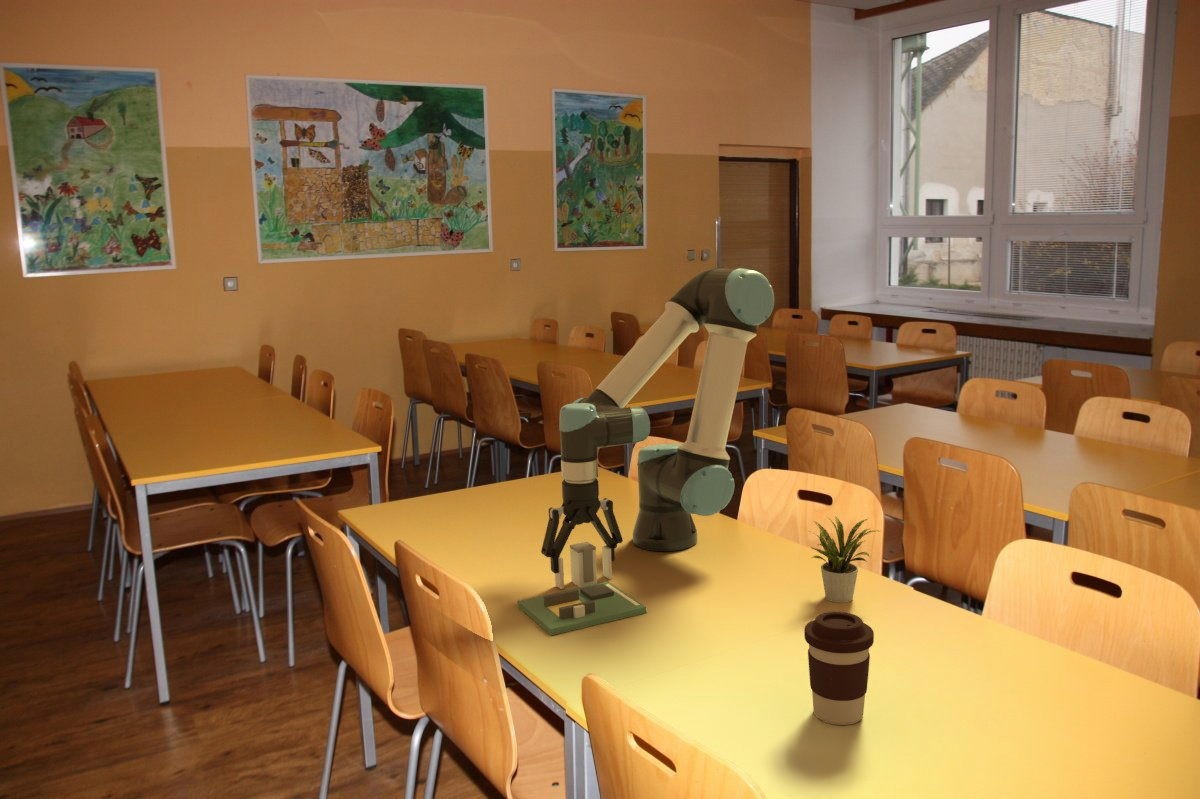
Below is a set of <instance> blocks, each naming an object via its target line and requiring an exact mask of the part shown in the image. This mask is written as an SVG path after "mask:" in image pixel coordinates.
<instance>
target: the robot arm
mask: <svg viewBox="0 0 1200 799" xmlns="http://www.w3.org/2000/svg"><path fill="white" fill-rule="evenodd" d="M664 306H665V307H664V308H665V310H664V312H663V313H662V314H661V315H660V316H659V318H658V319H657V320H655V322H654V323H653V324H651V326H650V328H649V329H648V330H647V331H646V332H645V333H644V334H643V335H642V337H640V339H639V340H638V341H637V342H636V343H635V344H634V345H633V346H632V347H631V349H630V350H629V351H627V353H626V354H625V355H624V357H623V358H622V359H621V360H620V361H619V362H618V363H617V364H616V365H615V367H613V368H612V370H611V371H610V372H609V373H608V375H607V376H606V377H604V379H602V381H601V382H600V383H599V384H598V385H597V387H596V388H595V389H594V390H593V391H592V392H591V393H590V394H589V395H588V396H587V397H581V398H578V399H576V400H574V401H573V402H572V403H567V404H565V405H563V406H561V408H560V410H559V417H558V418H559V421H558V422H559V426H558V430H559V441H560V469H561V478H562V479H563V480H562V481H561V491H562V492H561V494H562V504H561V506H560V507H556V508H554V507H549V508H548V521H547V526H546V529H545V534H544V538H543V542H542V547H541V551H540V553H541V554H542V556H545V557H546V558H549V560H550V571H551V572H552V573H553V574H554V581H555V582H554V583H555V584H554V586H556V587H557V588H558V589H560V590H564V589H565V577H564V576H565V575H564V572H565V571H564V558H563V557H562V556H561V554H562V552H563V550H564V547H565V546H566V544H567V542H568V539H569V537H570V535H571V533H572V531H573V530H574V529H575V528H576V526H580V525H583V524H592V525H593V527H594V529H595V530H596V531H597V533H598V535H599V537H601V539H602V541H603V543H604V544H605V545H604V544H603V545H601V552H602V553H601V557H602V558H601V559H602V576H604V577H605V578H607V579H608V580H611V579H612V578H613V572H612V570H613V569H612V562H615V559H616V557H615V556H616V555H615V554H616V553H615V549H617V547H618V544H622V543H623V541H624V540H623V539H624V538H623V536H622V533H621V530H620V528H619V525H618V524H619V523H618V521H617V519H616V516H615V513H614V502H613V501H612V500H611V499H608V498H606V497H604V498H603V499H601V500H600V499H599V495H600V491H599V490H600V489H599V480H598V479H597V478H598V477H599V466H598V457H599V456H598V449H603V448H608V447H617V446H622V445H633V444H636V443H637V444H638V443H641V442H644V441H645V440H647V438H648V437H649V435H650V433H651V421H650V417H649V414H648V413H647V411H646V409H644V408H643V407H641V406H627V407H626V405H628V403H629V402H630V401H631V400H632V399H633V398H634V396H636V395H637V393H638V392H639V391H640V390H641V389H642V388H643V386H644V385H645V384H646V383H647V382H648V381H649V380H650V379H651V377H653V375H654V374H656V372H657V371H658V370H659V368H660V367H662V365H664V363H665V362H666V361H667V359H669V357H670V356H671V355H672V354H673V353H674V352H675V351H676V350H677V348H679V346H680V345H681V344H682V343H683V342H684V341H685V340H686V338H687V337H688V336H689V335H690V334H691V333H697V332H699V330H701V328H702V327H703V326H704V327H705V329H706V331H707V333H708V338H707V344H706V348H705V352H704V356H703V357H704V358H703V361H702V365H701V371H700V375H699V376H700V377H699V380H698V386H697V390H696V395H695V399H694V403H693V408H692V413H691V417H690V423H689V427H688V432H687V437H686V440H685V442H683V443H679V442H678V443H675V442H674V443H664V444H663V443H661V444H655V445H652V444H651V445H648V446H645V447H642V448H640V449H639V451H638V453H637V463H636V465H637V475H638V476H637V477H638V479H637V480H638V503H639V504H638V506H639V509H638V513H637V516H636V520H635V524H634V526H633V530H632V543H633V545H634V546H636V547H638V548H640V549H642V550H647V551H653V552H672V551H673V552H675V551H681V550H685V549H689V548H691V547H693V546H694V545H696V544H697V543H698V531H697V530H698V529H697V528H696V525H695V522H694V519H693V516H692V515H693V514H694V515H697V516H701V517H710V516H714V515H716V514H718V513H719V512H720V511H721V510H724V509H725V508H726V507H727V506H728V504H730V501H731V500H732V498H733V495H734V492H735V479H734V478H733V475H732V473H731V471H729V466H730V465H729V464H730V460H731V457H730V455H729V454H728V452H727V450H726V447H727V446H726V445H727V441H728V435H729V431H730V427H731V423H732V417H733V413H734V409H735V403H736V399H737V395H738V388H739V384H740V380H741V377H742V376H741V375H742V370H743V366H744V361H745V356H746V352H747V347H748V343H749V342H750V341H751V340H752V339H754V338H755V337H756V336H758V335H757V334H758V329H759V325H761V324H762V323H765V321H766V320H767V319H769V318H770V316H771V314H772V312H773V310H774V307H775V293H774V289H773V286H772V285H771V283H770V282H769V280H768V278H767V277H766V275H764V274H763V273H761V272H759V271H757V270H752V269H748V268H720V267H713V268H712V267H711V268H708V269H705V270H702V271H700V272H698V273H696V274H695V275H694V276H693V277H691V278H690V279H689V280H687V281H686V282H685V283H684V284H683V285H682V286H681V287H680V288H679V289H678V290H676V292H674V294H673V295H672V296H671V297H670V298H669V300H668V301H667V302H666V303H665V305H664ZM599 509H601V510H602V511H603V512H602V513H603V515H604V518H605V521H606V524H607V528H608V530H609V532H610V533H609V532H608V530H607V529H606V527H605V526H604V524H603V523H602V521H601V519H600V517H599V516H598V515H597V514H598V511H599ZM562 514H564V519H563V521H562V523H561V524H562V525H561V527H560V529H559V524H560V519H561V518H562ZM558 530H559V531H558ZM557 533H558V534H557Z"/></svg>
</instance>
